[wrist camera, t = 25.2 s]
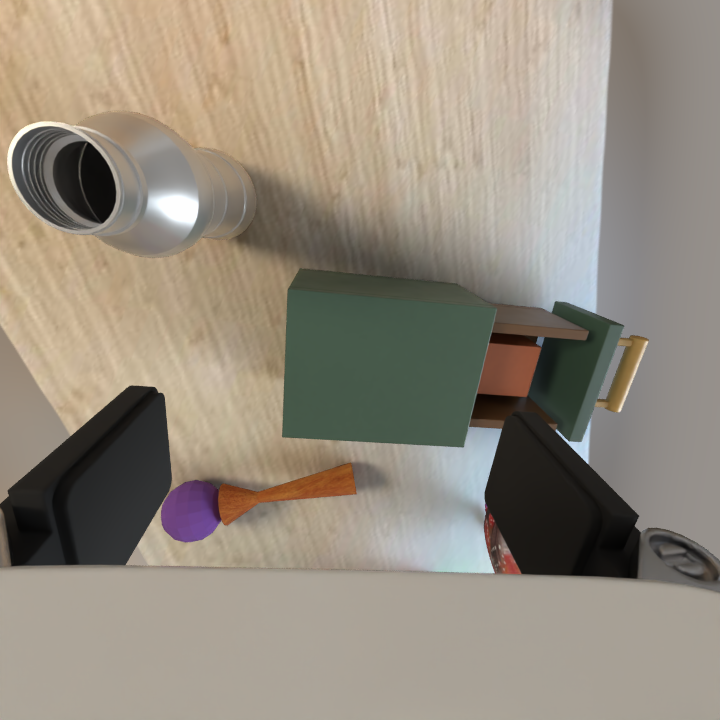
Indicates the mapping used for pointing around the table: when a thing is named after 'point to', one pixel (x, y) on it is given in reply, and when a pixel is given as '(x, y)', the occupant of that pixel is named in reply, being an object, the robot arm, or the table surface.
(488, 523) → the decorative bird figurine
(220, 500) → the kendama
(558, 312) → the drawer
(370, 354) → the cabinet
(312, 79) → the table surface
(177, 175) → the silver metal bottle
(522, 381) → the block
